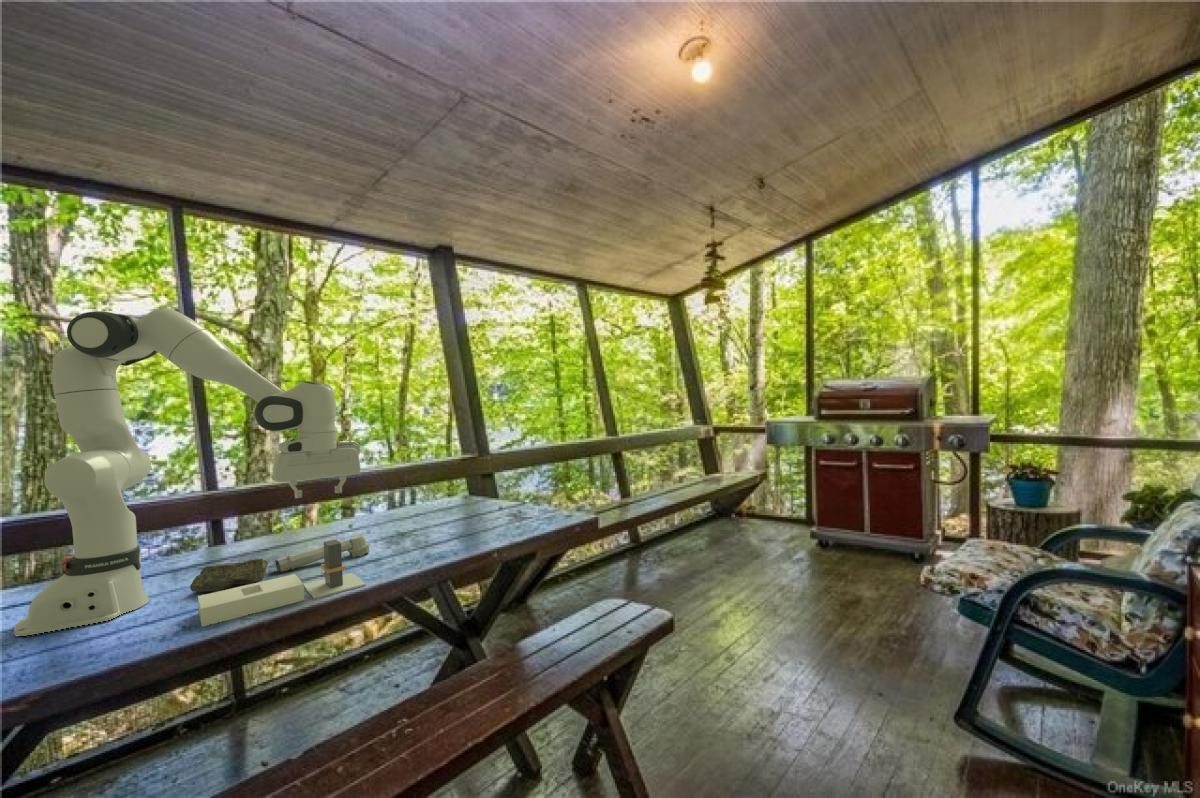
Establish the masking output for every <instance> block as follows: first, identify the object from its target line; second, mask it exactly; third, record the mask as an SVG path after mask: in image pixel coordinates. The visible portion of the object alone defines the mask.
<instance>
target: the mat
mask: <svg viewBox="0 0 1200 798" xmlns="http://www.w3.org/2000/svg"><path fill="white" fill-rule="evenodd" d="M342 575H343V585H342V586H338V587H334V588H330V587H329V586H328V585H327V584H326V583H325V578H324V579H319V580H317V581H312V582H307V583H303V584H304V590H306V591H307V593H309V594H310V596H311V597H312V598H313V599H314V600H316V599H321V598H323V597H324V598H325V597H327V596H331V595H336V594H339V593H343V592H346V591H350V590H354V589H358V588H362V587H366V585H367V584H366V583H365V582H364V581H363V580H361V579H360V578H359V577H358V576H357V575H355V573H354V572H349V573H345V574H342Z"/></svg>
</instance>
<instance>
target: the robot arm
mask: <svg viewBox="0 0 1200 798" xmlns="http://www.w3.org/2000/svg"><path fill="white" fill-rule="evenodd" d="M66 337H67V340H68V342H69V343H70V344H71V346H69V347H65V348H63V349H61V350H59V351H57V352H56V353H55V355H54V356H53V360H52V369H51V370H52V373H51V375H52V377H51V379H52V380H51V381H52V388H53V395H54V401H55V405H56V411H57V417H58V421H59V426H60V428H61V430H63V432H65V433H66V434H68V435H69V436H70V437H71V438H72V440H73V441H74V442H75V444H76V446H77V447H78V449H79V452H75V453H72V454H70V455H67V456H65V457H63V458H61V459H58V460H56V461H55V462H53V463H52V464H51V465H50V466H49V467H48V468H47V469H46V471H45V474H44V479H43V480H44V481H43V482H44V486H45V488H46V490H47V491H48V492H49V493H50V494H51V496H53V497H55V498H57V499H58V500H59V501H61V503H62V504H63V507H64V509H65V511H66V512H67V515H68V518H69V520H70V524H71V528H72V530H71V531H72V539H73V554H74V555H73V556H70V555H68V556H64V558H63V559H62V560H61V571H62V574H63V575H61V576H60V577H59V578H57V579H56V580H55V581H53V582H52V583H51V584H49V586H47V587H46V588H44V589H43V590H41V591H40V592H39V593H38V594H37V595H36V596H35V597H34V598H33V599H32V601H31V602H30V605H29V608H28V612H27V616H26V617H24V618H23V619H21V620H19V621H18V622H17V623H16V624H15V626H14V628H13V635H14V634H16V635H19V636H25V635H32V634H37V635H39V634H38V633H43V634H45V633H44V632H48V633H51V632H50V631H53V632H56V631H55V630H58V631H62V630H61V629H64V630H67V629H66V628H69V629H71V628H70V627H74V628H78V627H77V626H80V627H83V626H82V625H85V626H89V625H88V624H90V625H94V624H93V623H96V624H99V623H98V622H101V623H104V622H103V621H106V622H109V621H108V620H110V621H112V620H111V619H113V618H115V617H117V616H119V615H120V616H122V615H124V614H123V613H125V614H127V613H130V612H132V610H133V611H134V610H137V609H140V608H141V607H143V606H145V605H146V604H148V602H149V600H150V598H149V597H148V595H147V592H146V589H145V587H144V583H143V579H142V575H141V570H140V569H141V566H142V552H141V551H142V550H141V549H140V548H141V547H140V545H138V534H137V533H138V531H137V517H136V514H135V513H134V512H133V511H132V510H130V509H129V507H127V504H126V502H125V500H124V497H123V493H122V490H123V491H124V490H127V489H128V488H129V489H130V488H133V487H134V486H135V485H137V484H139V483H140V482H141V481H143V480H144V479H145V478H146V477H147V476H148V475H149V473H150V472H151V468H152V461H151V459H150V457H149V456H148V454H147V453H146V452H145V451H143V450H142V449H141V448H140V447H139V446H138V444H137V442H136V440H135V438H134V436H133V435H132V433H131V431H130V428H129V426H128V424H127V422H126V419H125V415H124V411H123V405H122V400H121V395H120V390H119V385H118V381H117V370H118V368H119V367H120V366H124V367H128V366H131V365H133V364H135V363H138V362H141V361H144V360H148V359H149V358H151V357H154V356H155V355H157V354H160V355H161V356H162V357H163V358H166V359H167V361H169V362H170V363H172V364H173V365H175V366H176V367H177V368H179V369H180V370H183V371H184V372H186V373H188V374H189V375H192V376H194V377H196V378H199V379H202V380H206V381H213V382H216V383H217V382H218V383H220V384H225V385H227V386H230V387H233V388H235V389H237V390H239V391H240V392H242V393H244V394H245V395H247V396H248V397H249V398H251V399H252V400H254V401H255V402H257V403H256V406H255V408H254V419H255V421H256V423H257V425H259V427H261V428H262V429H264V430H266V431H268V432H276V433H277V432H279V433H280V432H287V431H298V432H297V433H298V437H295V438H291V439H289V440H286V441H282V442H280V443H278V446H277V447H278V453H277V455H276V456H275V458H274V462H273V470H272V478H273V480H274V481H275V482H277V483H287V482H288V483H289V486H290V488H291V489H292V490H293V491H294V498H295V499H301V498H303V490H301V489H298V487H297V485H298V481H306V480H317V479H326V478H335V477H338V480H339V483H338V484H337V485H335V486H334V493H335V494H342V493H343V486H344V484H346V481H347V476H353V475H354V476H355V475H359V473H360V471H361V461H360V457H359V456H360V454H361V446H360V444H359V442H356V441H354V440H347V441H343V440H342V441H340V440H339V441H337V437H338V436H337V427H336V424H335V422H336V421H335V420H336V417H337V405H336V404H337V403H336V395H335V392H334V388H332V386H331V385H329V384H327V383H324V382H316V381H305V380H304V381H301V382H300V383H298V384H296V385H295V386H294V387H292V388H289V389H288V390H284V389H283V388H281V387H279V386H278V385H276V384H275V383H274V382H272V381H271V380H269V379H268V378H266V377H265V376H264V375H262V374H261V373H259V372H258V371H257V370H255V369H254V368H252V367H251V366H250V365H249V364H248V363H246V362H245V360H243V359H242V358H241V357H239V356H238V355H237V354H236V353H235V352H234V351H233V350H232V349H231V348H229V346H227V344H225V343H224V342H223V341H222V340H221V339H220V338H219V337H217V336H216V335H215V334H214V333H213V332H211V331H210V330H208V329H207V328H205V327H204V326H203V325H201V324H200V323H198V322H197V321H195V320H194V319H192V318H190V317H189V316H187V315H186V314H183V313H181V312H179V311H177V310H176V309H172V308H169V307H163V308H162V307H161V308H157V309H154V310H153V311H150V312H149V313H147V314H146V315H145V316H143V317H142V318H137V317H135V316H131V315H127V314H122V313H114V312H110V311H88V312H83V313H80V314H78V315H76V316H75V317H73V318H72V319H71V320H70V322H68V325H67V327H66ZM129 611H130V612H129ZM126 612H127V613H126ZM121 614H122V615H121ZM120 616H119V617H120ZM117 618H118V617H117ZM115 619H116V618H115ZM113 620H114V619H113ZM32 636H33V635H32Z"/></svg>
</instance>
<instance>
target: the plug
mask: <svg viewBox="0 0 1200 798" xmlns="http://www.w3.org/2000/svg"><path fill="white" fill-rule="evenodd" d="M340 542H341V541H338V540H337V539H332V540H331V539H330V540H328V541H323V547H324V559H323V560H324V561H323V563H321V564H320V568H321V569H322V570H323V571H324V579H325V583H326V584H327V585H328V586H329V587H330V588H334V587H338V586H342V585H343V575H344V574H343V570H346V569H347V567H346V564H344V563H343V559H342V558H343V557H342V556H343V555H342V553H343V552H341V543H340Z"/></svg>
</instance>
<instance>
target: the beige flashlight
mask: <svg viewBox="0 0 1200 798" xmlns="http://www.w3.org/2000/svg"><path fill="white" fill-rule="evenodd" d="M339 542H340V543H341V553H344V552H346V551H347V553H349V557H350V556H353V557H352V558H356V557H359V556H360V557H363V556H365V554H369V553H370V546H371V544H370V542H369V541H368V542H366V539H365V536H364V535H363V534H359V535H355V536H351V538H349V539H347V540H343V541H339ZM321 560H324V546H320V547H316V548H313V549H310V550H305V551H302V552H297V553H295V554H291V555H290V554H288V555H287V556H284V557H281V558H277V559H275V560H274V562H275V568H276V571H277V573H278V574H280V572H281V573H285V572H288V571H291V570H292V571H294V569H297V568H300V567H302V566H306V565H309V564H311V563H315V562H317V561H321ZM284 571H285V572H284Z"/></svg>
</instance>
